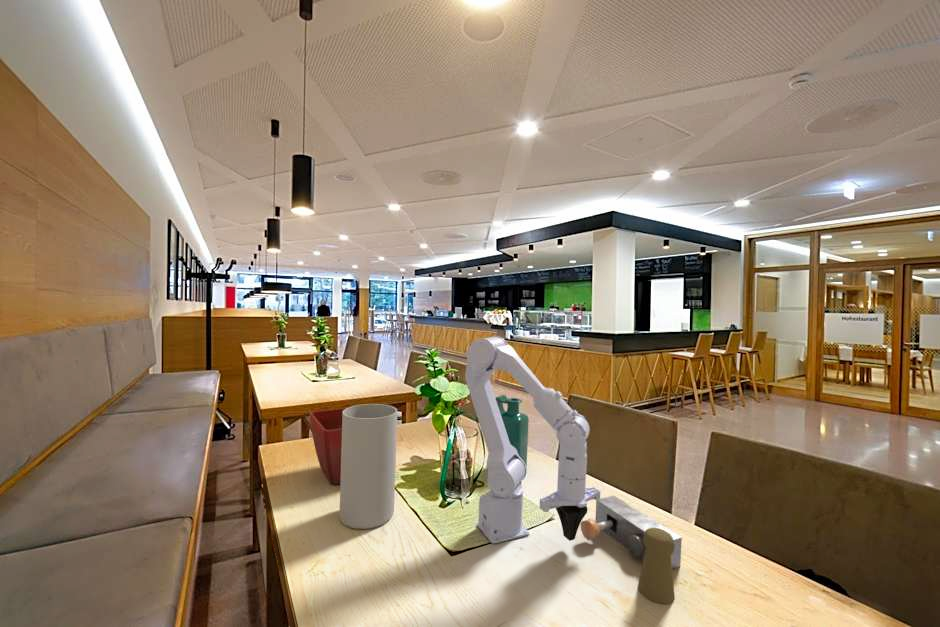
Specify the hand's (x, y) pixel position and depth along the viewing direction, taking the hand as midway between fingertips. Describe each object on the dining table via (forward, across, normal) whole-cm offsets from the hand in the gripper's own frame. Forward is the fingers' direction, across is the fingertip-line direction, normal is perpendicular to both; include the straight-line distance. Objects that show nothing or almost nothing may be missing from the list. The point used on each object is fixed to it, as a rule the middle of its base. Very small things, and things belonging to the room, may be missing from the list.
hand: (569, 537), depth 82 cm
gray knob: (+1, +13, -8) cm, 15 cm away
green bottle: (+3, +9, +40) cm, 41 cm away
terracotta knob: (+1, +8, 0) cm, 8 cm away
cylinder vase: (+3, -37, +28) cm, 47 cm away
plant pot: (+3, -38, +53) cm, 65 cm away
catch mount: (+2, +14, -4) cm, 15 cm away
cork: (+3, +7, -16) cm, 18 cm away
